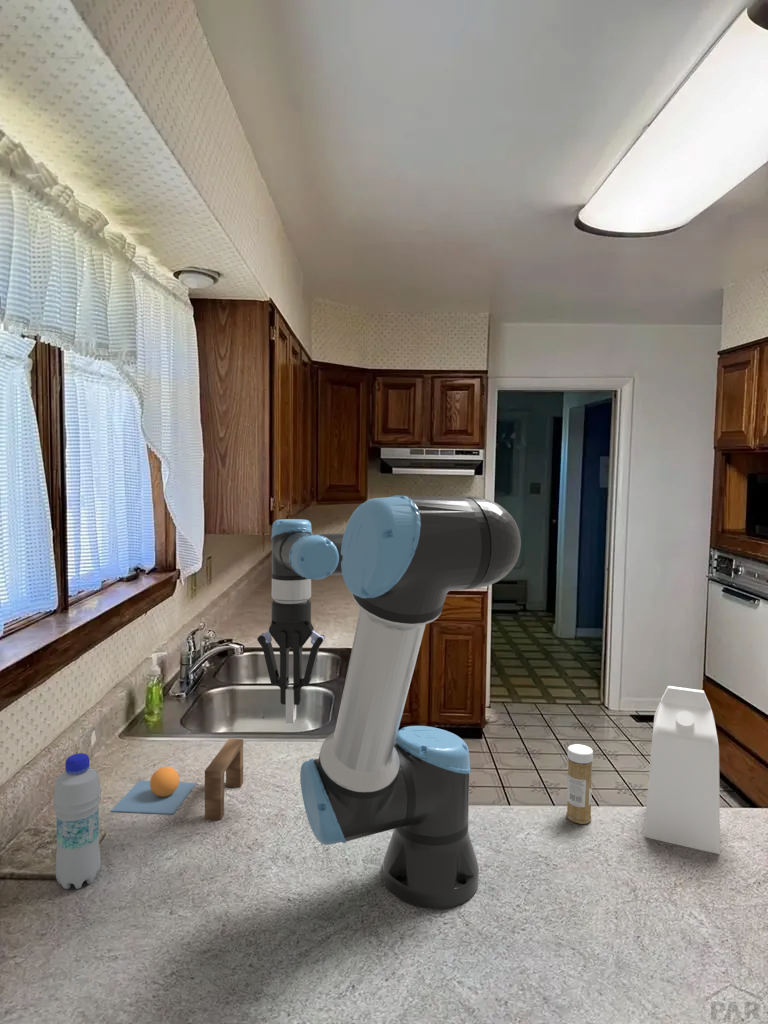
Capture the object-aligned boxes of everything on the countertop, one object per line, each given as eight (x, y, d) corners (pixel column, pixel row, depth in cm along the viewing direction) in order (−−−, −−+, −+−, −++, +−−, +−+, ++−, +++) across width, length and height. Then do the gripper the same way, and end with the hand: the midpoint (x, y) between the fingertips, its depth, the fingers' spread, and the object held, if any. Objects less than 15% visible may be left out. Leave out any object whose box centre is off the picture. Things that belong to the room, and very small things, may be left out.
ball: (139, 787, 122) (158, 807, 122) (158, 769, 122) (177, 790, 121) (152, 773, 128) (170, 793, 128) (170, 756, 127) (189, 776, 127)
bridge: (243, 782, 130) (243, 739, 130) (220, 820, 116) (220, 771, 115) (229, 782, 130) (228, 738, 130) (204, 819, 116) (204, 770, 115)
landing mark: (173, 814, 118) (173, 813, 118) (111, 811, 118) (111, 810, 118) (196, 783, 130) (196, 782, 130) (139, 781, 130) (139, 780, 130)
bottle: (111, 872, 100) (110, 749, 99) (78, 898, 94) (76, 767, 93) (78, 863, 102) (77, 743, 101) (44, 888, 96) (42, 760, 95)
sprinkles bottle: (596, 820, 117) (598, 750, 117) (580, 827, 115) (582, 755, 114) (576, 809, 121) (578, 741, 120) (560, 816, 118) (562, 746, 118)
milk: (715, 821, 117) (721, 684, 116) (719, 854, 107) (725, 704, 106) (646, 806, 122) (650, 675, 121) (643, 836, 112) (648, 693, 111)
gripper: (328, 596, 124) (327, 714, 125) (262, 595, 124) (262, 712, 126) (321, 604, 116) (321, 729, 117) (252, 602, 117) (252, 726, 118)
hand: (290, 720), depth 121 cm, fingers closed
